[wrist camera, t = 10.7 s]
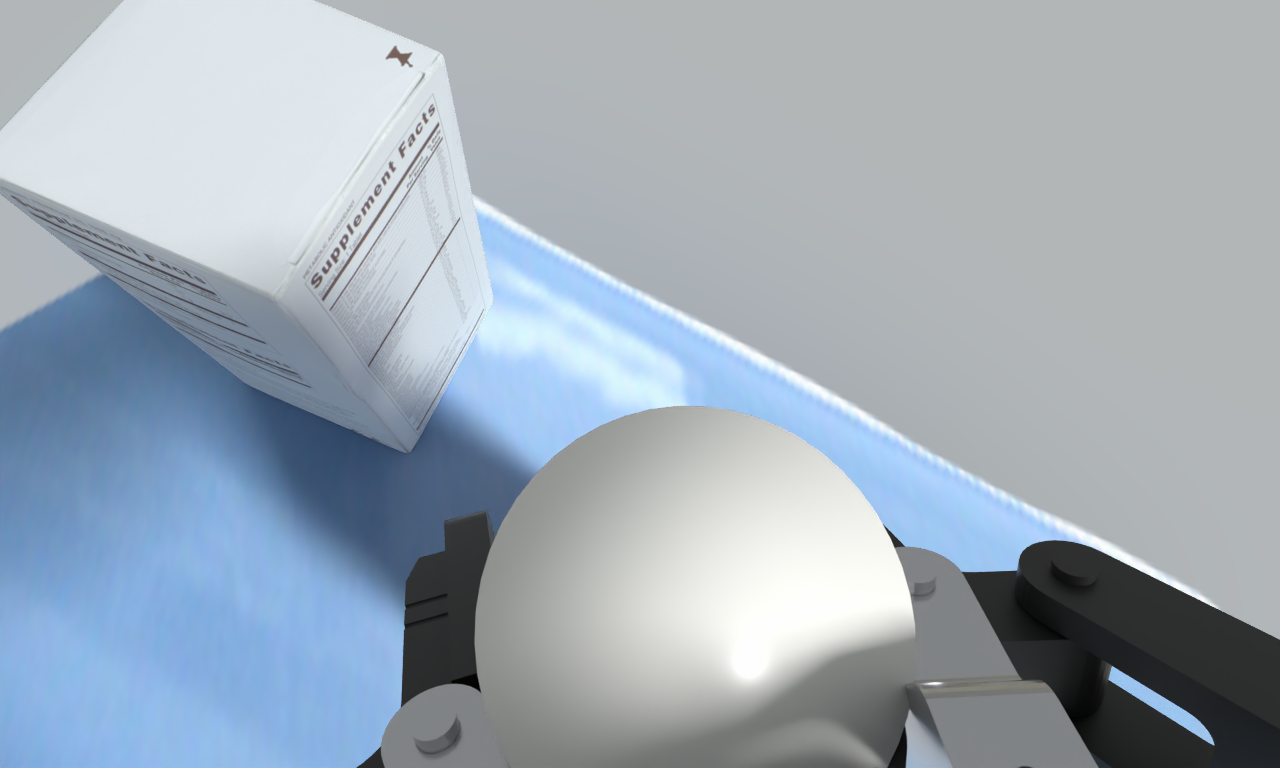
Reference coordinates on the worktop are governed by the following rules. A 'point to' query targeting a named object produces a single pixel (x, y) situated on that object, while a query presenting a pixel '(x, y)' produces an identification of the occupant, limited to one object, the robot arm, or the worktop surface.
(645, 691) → the pill bottle
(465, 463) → the worktop surface
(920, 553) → the robot arm
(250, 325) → the supplement box
